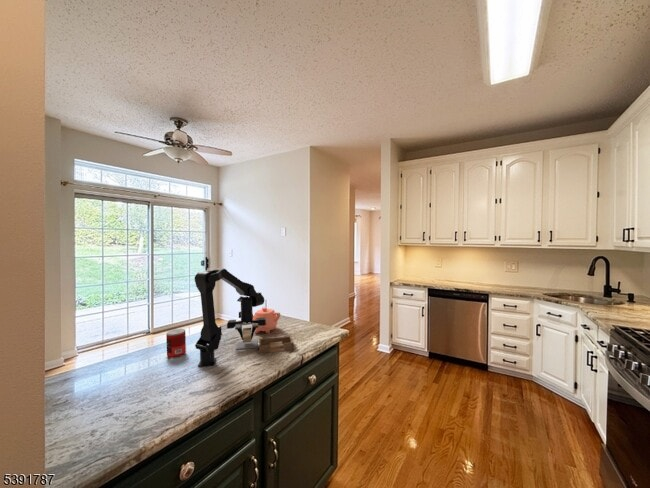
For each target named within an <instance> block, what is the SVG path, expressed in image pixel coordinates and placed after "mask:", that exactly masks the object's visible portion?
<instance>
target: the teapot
mask: <svg viewBox="0 0 650 488" xmlns="http://www.w3.org/2000/svg"><path fill="white" fill-rule="evenodd" d="M263 317H265V318H266V325H264V326H259V325H258V328H256V329H255V332H254V333H255V334H256V333H257V334H258V333H260V332H265V334H270V333H271V331H274V330H276V329H275V328H276V327H277V325H278V321H279V319H281V312H277V311H276V312H275V309H272V308H268V307H262V308H261V309H259V310H256V311H255V312H254V313H253V320H258V318H263Z"/></svg>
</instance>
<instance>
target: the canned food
mask: <svg viewBox="0 0 650 488" xmlns="http://www.w3.org/2000/svg"><path fill="white" fill-rule="evenodd" d="M186 336H187V335H186V329H185V328H177V329H176V328H175V329H171V330H169V331H167V332H166V339H165V340H166V356H167V358H170V359H175V358H180V357H182V356H184V355H186V352H187V350H186V349H187V346H186V340H187V339H186Z"/></svg>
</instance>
